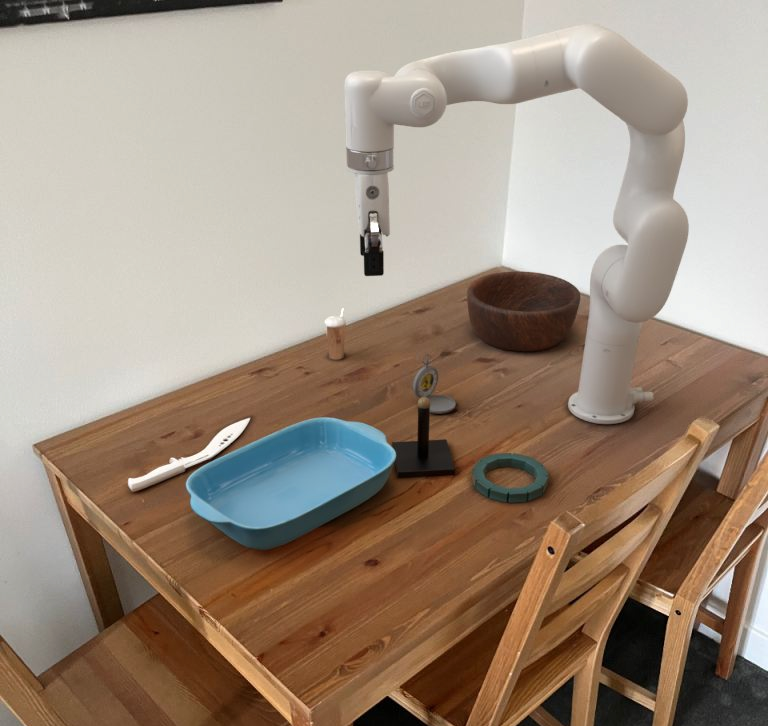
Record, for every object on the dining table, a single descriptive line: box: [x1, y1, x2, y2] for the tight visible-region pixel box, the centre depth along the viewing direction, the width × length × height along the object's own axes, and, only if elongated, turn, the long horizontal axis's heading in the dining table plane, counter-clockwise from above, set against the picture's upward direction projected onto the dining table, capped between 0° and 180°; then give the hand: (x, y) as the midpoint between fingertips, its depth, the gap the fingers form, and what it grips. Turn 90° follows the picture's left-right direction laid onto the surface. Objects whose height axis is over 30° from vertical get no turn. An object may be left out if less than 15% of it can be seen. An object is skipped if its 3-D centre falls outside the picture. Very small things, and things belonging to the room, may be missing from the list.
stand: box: [391, 397, 456, 479], centre depth 148 cm, size 10×10×13 cm
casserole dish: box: [185, 416, 396, 551], centre depth 140 cm, size 37×22×7 cm, turn 135°
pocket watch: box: [412, 353, 457, 415], centre depth 165 cm, size 8×8×10 cm
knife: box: [127, 417, 251, 493], centre depth 154 cm, size 30×2×8 cm
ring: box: [471, 452, 549, 504], centre depth 146 cm, size 13×13×2 cm
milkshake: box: [323, 307, 347, 361], centre depth 183 cm, size 4×5×10 cm
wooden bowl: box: [466, 270, 582, 352], centre depth 192 cm, size 25×25×10 cm
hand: (371, 264), depth 145 cm, fingers open, 9 cm apart
